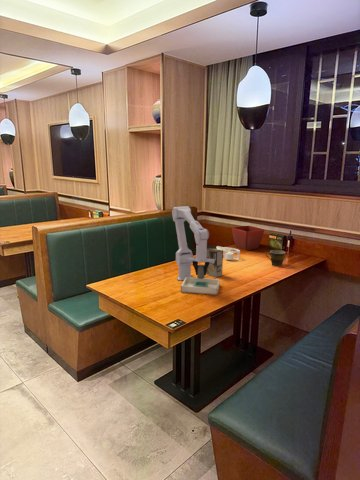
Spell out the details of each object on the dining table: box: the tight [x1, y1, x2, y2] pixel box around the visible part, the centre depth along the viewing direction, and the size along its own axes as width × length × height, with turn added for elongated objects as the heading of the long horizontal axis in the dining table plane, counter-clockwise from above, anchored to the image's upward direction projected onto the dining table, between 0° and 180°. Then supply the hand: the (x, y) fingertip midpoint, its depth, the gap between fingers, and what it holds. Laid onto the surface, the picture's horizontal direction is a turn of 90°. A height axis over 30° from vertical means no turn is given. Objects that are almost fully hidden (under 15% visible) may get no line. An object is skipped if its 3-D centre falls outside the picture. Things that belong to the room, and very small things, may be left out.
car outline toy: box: [215, 245, 241, 262], centre depth 250 cm, size 20×11×7 cm, turn 38°
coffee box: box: [206, 247, 224, 278], centre depth 214 cm, size 9×6×16 cm
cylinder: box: [196, 264, 205, 279], centre depth 190 cm, size 4×4×7 cm
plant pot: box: [231, 225, 265, 251], centre depth 278 cm, size 19×19×17 cm
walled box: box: [180, 276, 221, 296], centre depth 192 cm, size 15×20×4 cm
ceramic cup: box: [265, 249, 286, 268], centre depth 233 cm, size 13×10×10 cm
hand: (200, 274), depth 190 cm, fingers closed on cylinder, 4 cm apart
